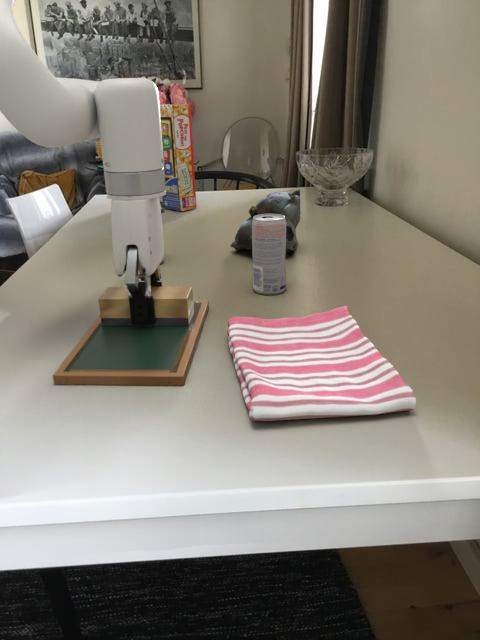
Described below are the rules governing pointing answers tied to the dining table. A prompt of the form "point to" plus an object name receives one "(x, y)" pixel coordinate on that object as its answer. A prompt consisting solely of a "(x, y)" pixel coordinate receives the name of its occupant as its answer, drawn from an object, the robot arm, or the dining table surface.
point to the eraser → (168, 304)
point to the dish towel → (313, 368)
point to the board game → (178, 157)
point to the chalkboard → (134, 354)
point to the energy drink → (269, 253)
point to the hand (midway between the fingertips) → (148, 314)
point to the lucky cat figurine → (273, 205)
